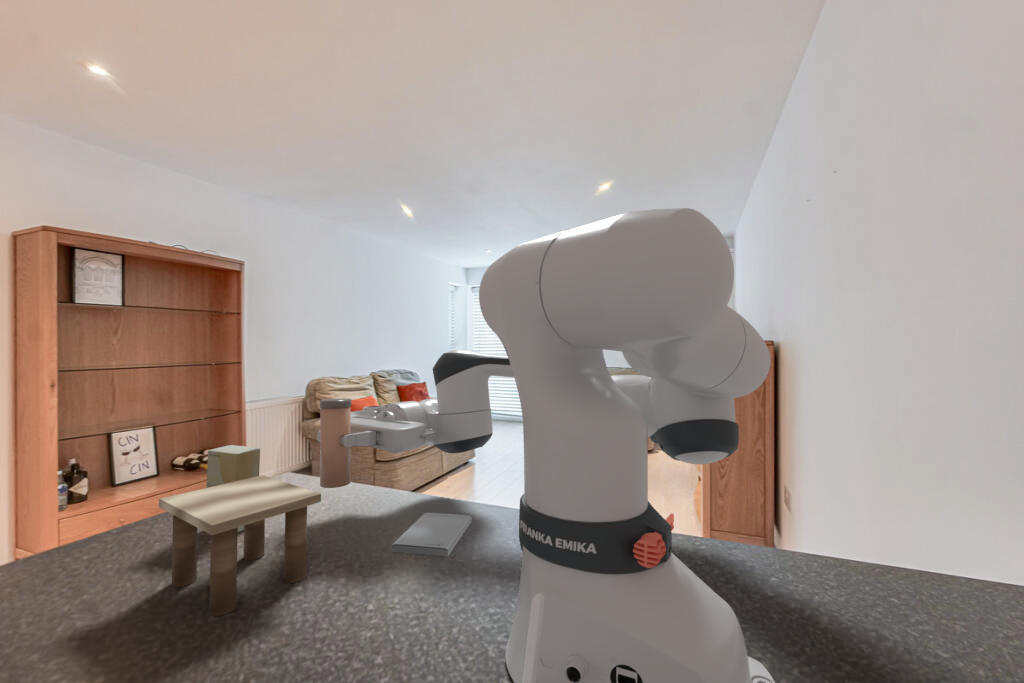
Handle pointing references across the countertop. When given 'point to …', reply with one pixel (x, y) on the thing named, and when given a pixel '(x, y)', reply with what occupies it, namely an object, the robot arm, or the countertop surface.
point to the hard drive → (433, 534)
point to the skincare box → (232, 465)
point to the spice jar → (334, 442)
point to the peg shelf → (221, 519)
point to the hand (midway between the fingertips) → (330, 439)
